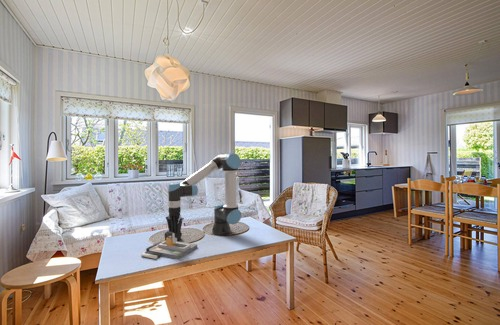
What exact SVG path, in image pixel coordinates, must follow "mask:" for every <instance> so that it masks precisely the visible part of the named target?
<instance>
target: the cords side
mask: <svg viewBox="0 0 500 325" xmlns="http://www.w3.org/2000/svg"><path fill="white" fill-rule="evenodd" d="M162 242H163V241H159V242H157V243H155V244H153V245H151V246H148V247H146V249H145V252H150V250H152V249H154V248H156V247H158V244H160V243H162Z"/></svg>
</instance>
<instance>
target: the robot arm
mask: <svg viewBox="0 0 500 325" xmlns="http://www.w3.org/2000/svg"><path fill="white" fill-rule="evenodd" d="M241 162H242V161H241V158H240V156H239V155H238V154H237V153H234V152H226V153H225V152H223V153H220V154H218V155H216V156H215V157H213V158H212V159H211V160H209V163H207V164H205V165H204V166H202V168H200V169H199V170H198V171H197V170H196V171H195V172H194V173H193V174H191V175H189V177H187V178H186V179H185V180H182V181H181V182H171V183H169V184H168V216H165V220H166V224H167V228H168V231H170V232H171V233H172V241H173V243H176V242H177V241H178V240H177V237H178V232H180V231H181V232H182V230H181V229H182V226H183V221H184V219H185V218H184V217H182V216H181V198H185V197H195V196H197V195H198V193H199V189H198V186H197V185H198V184H199V183H200V182H202V181H203V180H204V179H205V178H207V177H209V176H210V175H211V174H212V173H214V172H215V171H216V172H217V171H219V170H222V172H223V173H224V203H222V204H221V203H219V204H215V205H214V206H213V207H214V208H213V212H214V214H213V216H214V217H213V218H214V219H213V221H214V222H213V226H212V230H211V232H212V234H213V235H215V236H224V235H225V236H227V235H230V234H231V233H230V232H232V231H231V230H232V229H231V226H230V225H236V224H238V223H239V222H240V221H241V219H242V212H241V211H240V210H239V204H238V203H237V173H238V171H239V167H240V166H241Z"/></svg>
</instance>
